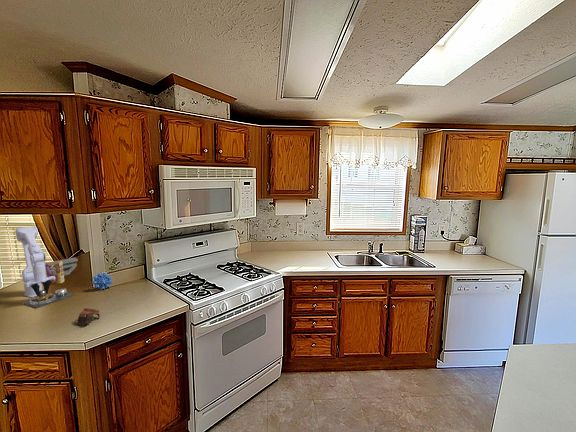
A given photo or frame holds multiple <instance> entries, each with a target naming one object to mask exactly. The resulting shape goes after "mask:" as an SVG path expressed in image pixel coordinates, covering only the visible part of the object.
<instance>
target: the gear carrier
mask: <svg viewBox="0 0 576 432" xmlns="http://www.w3.org/2000/svg"><path fill="white" fill-rule="evenodd" d="M51 294H52V297H49V298H48V299H45V300H41V301H34V297H31V299H29V301H26V302H24V303H23V305H24V306H28V307H31V308H35V309H39V308H42V307H45V306H47V305H51V304H54V303H56V302H59V301H63V300H65V299H68V298H71V297H73V296H75V295H74V293H71V292H67V288H65V287H63V288H58V289H56V290H55V292H54V293H51Z"/></svg>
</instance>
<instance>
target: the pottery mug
mask: <svg viewBox="0 0 576 432" xmlns="http://www.w3.org/2000/svg"><path fill="white" fill-rule="evenodd" d="M94 315H95V316H96V315H97V319H98V320H100V317H101V315H100V310H99V309H94V308H87V307H84V308H83V310H82V311H81V312H80V313H79V315H78V318H77V321H76V322H77V323H76V325H78V326H80V327H81V326H82V327H84V326H85V325H88V324H91V323H92V321H93V319H94Z"/></svg>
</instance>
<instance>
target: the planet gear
mask: <svg viewBox="0 0 576 432" xmlns="http://www.w3.org/2000/svg"><path fill="white" fill-rule="evenodd" d="M52 294H53V293H52V292H48V293H46V290H44V289H42V290H40V296H34V297H33V298H34V301H41V300H45V299H48V298H49V297H52Z"/></svg>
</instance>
